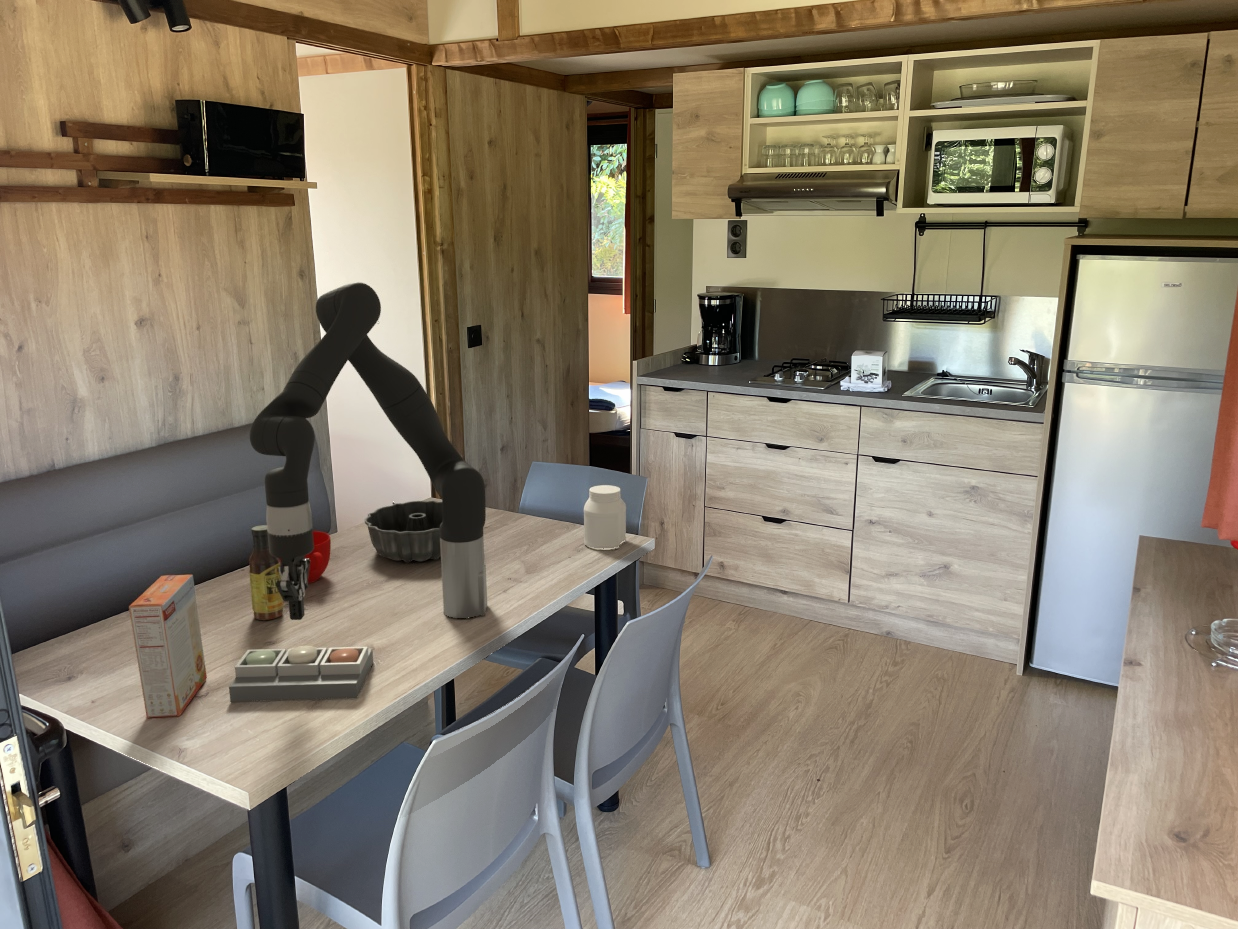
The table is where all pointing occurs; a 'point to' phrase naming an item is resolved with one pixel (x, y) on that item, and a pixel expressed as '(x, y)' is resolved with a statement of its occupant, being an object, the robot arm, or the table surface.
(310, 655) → the cream button
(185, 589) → the cracker box
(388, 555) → the bundt pan
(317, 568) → the ceramic cup
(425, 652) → the table surface
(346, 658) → the terracotta button
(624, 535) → the jar
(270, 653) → the sage button
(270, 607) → the sauce bottle
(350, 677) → the button panel
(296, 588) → the robot arm
